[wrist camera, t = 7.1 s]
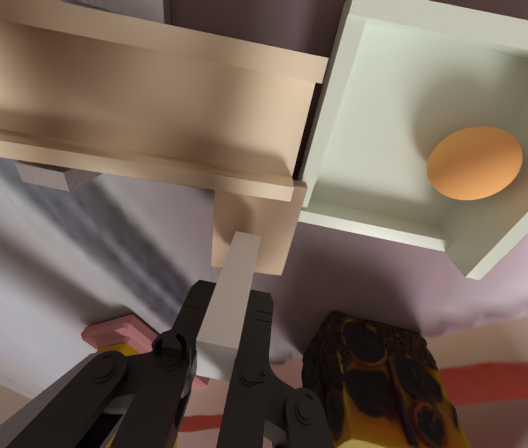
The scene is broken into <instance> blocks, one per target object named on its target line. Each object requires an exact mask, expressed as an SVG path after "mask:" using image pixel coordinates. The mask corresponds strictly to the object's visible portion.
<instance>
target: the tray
mask: <svg viewBox="0 0 528 448" xmlns="http://www.w3.org/2000/svg"><path fill="white" fill-rule="evenodd" d="M475 126H490V127H496V128H499V129H502V130H504V131H506V132H508V133H510V134H511V135H512V136H513V137H515V139H516V140H517V141H518V142H519V144H520V146H521V149H522V153H523V161H522V165H521V168H520V171H519V173H518V174H517V176H516V177H515V179H514V180H513V181H512V182H511V183H510V184H509V185H508V186H506V187H505V188H504V189H502V190H501V191H499V192H497V193H495V194H493V195H491V196H488V197H485V198H481V199H476V200H458V199H453V198H450V197H447V196H445V195H443V194H441V193H440V192H438V191H437V190H436V189H435V188H434V187H433V186H432V185H431V183H430V181H429V179H428V176H427V162H428V159H429V156H430V154H431V153H432V151H433V150H434V148H435V147H436V146H437V145H438V144H439V143H440V142H441V141H442V140H443V139H445V138H446V137H447V136H449V135H451V134H453V133H455V132H457V131H459V130H462V129H465V128H469V127H475ZM297 181H303V182H306V184H307V187H308V189H307V192H306V196H305V199H304V202H303V205H302V209H301V212H300V215H299V219H298V221H300V222H305V223H310V224H315V225H319V226H324V227H329V228H334V229H339V230H343V231H348V232H353V233H358V234H363V235H367V236H372V237H377V238H382V239H387V240H391V241H396V242H401V243H406V244H411V245H415V246H420V247H425V248H430V249H435V250H439V251H444V252H446V254H447V255H448V256H449V257H450V259H451V260H452V261H453V263H454V264H455V265H456V266H457V268H458V269H459V270H460V271H461V273H462V274H463V275H464V276H465V277H466V278H471V279H476V280H480V279H481V278H482V277H483V276H484V275H485V274H486V273H487V272H488V271H489V270H490V269H491V268H492V267H493V266H494V265H495V264H496V263H497V262H498V261H499V260H500V259H501V258H502V257H503V256H504V255H505V254H506V253H508V252H509V251H510V250H511V249H512V248H513V247H514V246H515V245H516V244H517V243H518V242H519V241H520V240H521V239H522V238H523V237H524V236H525V235H526V234H527V233H528V20H524V19H519V18H514V17H509V16H504V15H499V14H494V13H489V12H484V11H479V10H474V9H469V8H464V7H459V6H454V5H449V4H444V3H439V2H434V1H429V0H346V1H345V3H344V7H343V10H342V14H341V18H340V22H339V25H338V29H337V33H336V36H335V40H334V44H333V48H332V51H331V55H330V59H329V63H328V66H327V70H326V74H325V78H324V81H323V85H322V89H321V93H320V96H319V100H318V104H317V108H316V111H315V115H314V119H313V123H312V126H311V130H310V134H309V137H308V141H307V145H306V149H305V152H304V156H303V160H302V164H301V167H300V171H299V175H298V179H297Z"/></svg>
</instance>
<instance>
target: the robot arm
mask: <svg viewBox="0 0 528 448" xmlns="http://www.w3.org/2000/svg"><path fill="white" fill-rule="evenodd" d="M260 239H261V236H258V235H253V234H248V233H243V232H238V231H236V232H235V234H234V237H233V240H232V243H231V245H230V248H229V251H228V254H227V256H226V259H225V262H224V265H223V267H222V270H221V273H220V276H219V278H218V281H217V283H213V282H208V281H203V280H199V281H197V282H196V283H195V284H194V285H193V286H192V287H191V289H190V291H189V293H188V295H187V298H186V299H185V302H184V304H183V307H182V308H181V310H180V312H179V314H178V316H177V319H176V321H175V323H174V325H173V327H172V329H171V330H168V331H166V332H163V333H162V334H160V335H159V336H157V337H156V338H155V340H154V341H153V342H152V344H151V346H152V350H153V351H151V352H147V353H143V354H137V355H130V356H125V355H124V354H122V353H121V352H119V351H115V350H112V351H105V352H103V353H101V354H99V355H97V356H95V357H94V358H93V359H92V360H90V361H89V362H88V363H87V364H86V365H85V366H84V367H83V368H82V369H81V370H80V371H79V372H78V373H77V374H76V376H75V377H74V378H73V379H72V380H71V381H70V382H69V383H68V384H67V385H66V386H65V387H64V388H63V389H62V390H61V391H60V392H59V393H58V394H57V395H56V396H55V397H54V398H53V399H52V400H51V401H50V402H49V403H48V404H47V405H46V406H45V407H44V408H43V409H42V411H41V412H40V413H39V414H38V415H37V416H36V417H35V418H34V419H33V420H32V421H31V422H30V423H29V424H28V425H27V426H26V427H25V428H24V429H23V430H22V431H21V432H20V433H19V434H18V435H17V436H16V437H15V438H14V439H13V440H12V441H11V442H10V443H9V444H8V446H7V447H6V448H106V446H107V445H108V443H109V442H110V440H111V439H112V438H113V436H114V435H115V433H116V432H117V433H116V435H115V437H114V439H113V441H112V443H111V445H110V447H109V448H174V444H175V441H176V438H177V435H178V432H179V429H180V426H181V422H182V419H183V416H184V413H185V410H186V407H187V404H188V400H189V397H190V394H191V389H192V382H193V379H194V376H195V373H196V375H199V376H203V377H208V378H213V379H219V380H223V381H229V382H230V385H229V390H228V394H227V399H226V404H225V409H224V413H223V418H222V423H221V427H220V432H219V437H218V442H217V447H216V448H262V446H263V436H265V437H266V438H267V439H269V440H270V441H272V446H273V448H334V445H333V442H332V438H331V434H330V430H329V427H328V423H327V419H326V415H325V412H324V408H323V406H322V403H321V401H320V399H319V398H318V397H317V396H316V394H315V393H314V392H312V391H310V390H309V389H306V388H297V389H294V388H292V387H291V386H289V385H288V384H286V383H284V382H283V381H281V380H280V379H279V378H277V377H276V375H275V374H274V373H273V371H272V369H271V367H270V364H269V347H270V336H271V326H272V314H273V304H274V303H273V300H272V297H271V294H270V293H265V292H260V291H255V290H250V289H251V284H252V279H253V274H254V269H255V264H256V259H257V254H258V249H259V244H260ZM117 430H118V431H117Z"/></svg>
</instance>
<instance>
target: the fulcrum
mask: <svg viewBox="0 0 528 448" xmlns="http://www.w3.org/2000/svg"><path fill="white" fill-rule="evenodd" d="M52 1H57V2H62V3H67V4H72V5H76V6H81V7H86V8H91V9H96V10H100V11H105V12H110V13H115V14H120V15H124V16H129V17H134V18H139V19H144V20H148V21H153V22H158V23H163V24H167V25H171V8H170V0H52ZM14 164H15V166H16V168H17V170H18V173H19V175H20V177H21V179H22V181H23V182H27V183H32V184H37V185H41V186H46V187H51V188H56V189H60V190H65V191H71V190H73V189H75V188H77V187H79V186H80V185H82V184H84V183H86V182H88V181H90V180H91V179H93V178H95V177H97V176H99V175H101V174H103V173H100V172H94V171H87V170H81V169H74V168H68V167H61V166H55V165H49V164H42V163H36V162H29V161H23V160H19V161H17V162H14Z"/></svg>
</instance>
